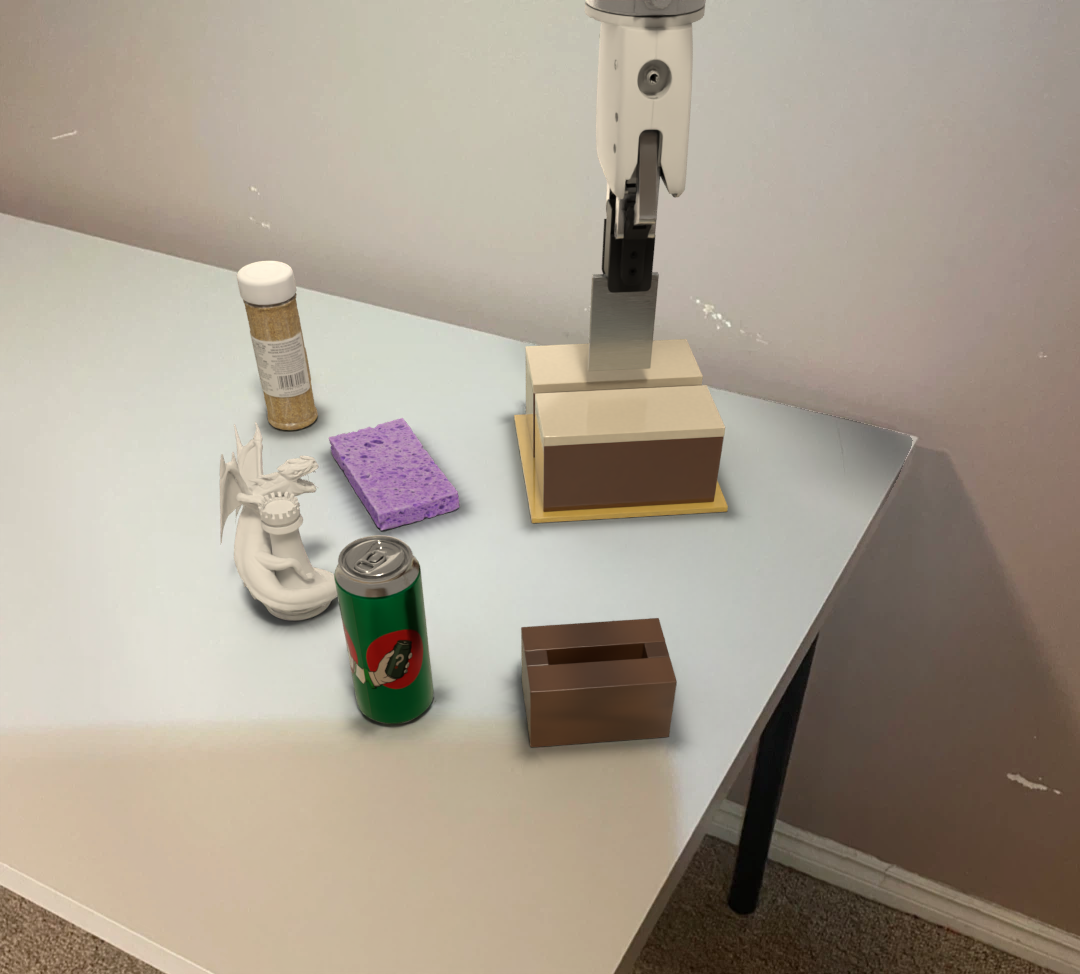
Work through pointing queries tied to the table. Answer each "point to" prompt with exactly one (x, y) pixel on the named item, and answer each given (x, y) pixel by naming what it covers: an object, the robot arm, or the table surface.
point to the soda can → (385, 628)
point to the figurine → (273, 532)
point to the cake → (618, 436)
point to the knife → (620, 318)
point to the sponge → (393, 474)
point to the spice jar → (278, 343)
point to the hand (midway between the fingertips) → (625, 280)
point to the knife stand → (596, 682)
